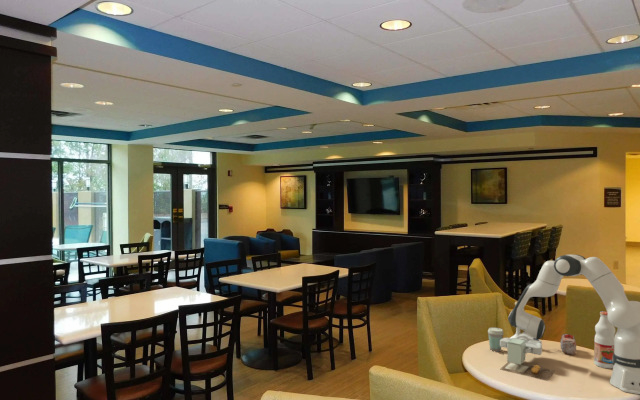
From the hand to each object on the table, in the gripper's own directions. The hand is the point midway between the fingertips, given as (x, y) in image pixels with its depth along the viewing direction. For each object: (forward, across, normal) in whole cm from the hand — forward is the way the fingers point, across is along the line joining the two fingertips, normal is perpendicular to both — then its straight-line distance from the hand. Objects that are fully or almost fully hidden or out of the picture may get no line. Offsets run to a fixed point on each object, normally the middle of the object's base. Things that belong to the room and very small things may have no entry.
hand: (516, 349), depth 234 cm
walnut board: (0, +5, +10) cm, 11 cm away
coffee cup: (-23, -18, +10) cm, 31 cm away
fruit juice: (-36, +34, +10) cm, 51 cm away
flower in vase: (-42, -11, +10) cm, 44 cm away
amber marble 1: (+2, +9, +9) cm, 13 cm away
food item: (-48, +15, +10) cm, 51 cm away
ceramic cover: (0, 0, +6) cm, 6 cm away
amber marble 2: (-2, +9, +9) cm, 13 cm away
